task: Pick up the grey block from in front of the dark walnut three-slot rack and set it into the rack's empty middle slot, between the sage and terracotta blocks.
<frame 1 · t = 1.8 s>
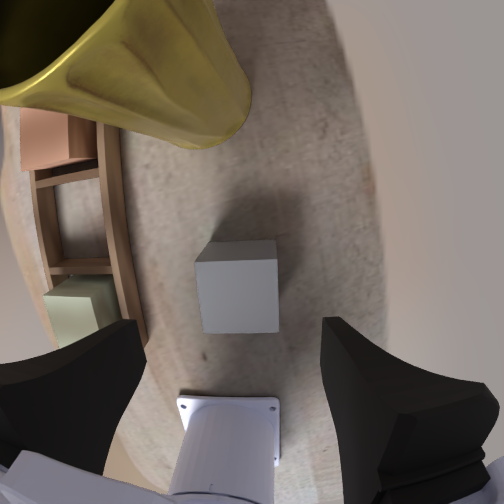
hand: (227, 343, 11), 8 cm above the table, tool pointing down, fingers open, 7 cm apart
grey block: (244, 271, 19), on the table
vase: (200, 100, 16), on the table
walnut rack: (86, 219, 19), on the table
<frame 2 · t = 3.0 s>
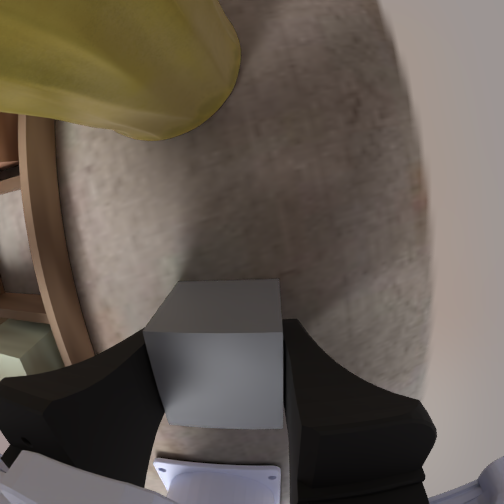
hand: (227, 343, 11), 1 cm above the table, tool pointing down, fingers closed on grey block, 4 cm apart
grey block: (231, 325, 13), on the table, touching gripper
vase: (163, 67, 10), on the table
walnut rack: (21, 244, 12), on the table
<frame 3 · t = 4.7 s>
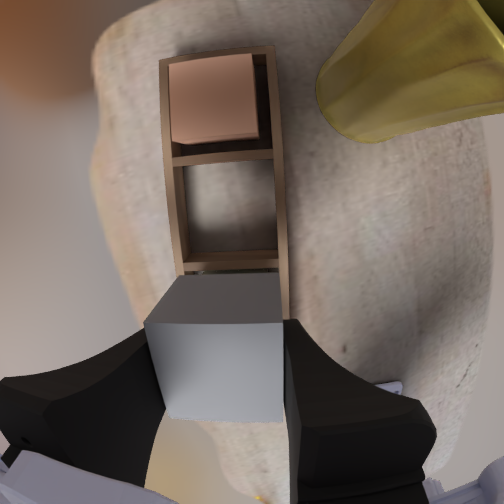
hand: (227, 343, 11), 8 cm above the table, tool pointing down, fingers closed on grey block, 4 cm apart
grey block: (232, 319, 13), point 7 cm above the table, touching gripper
vase: (363, 96, 16), on the table
walnut rack: (230, 207, 18), on the table
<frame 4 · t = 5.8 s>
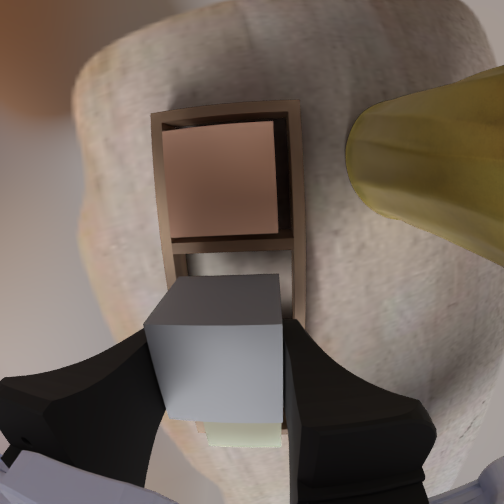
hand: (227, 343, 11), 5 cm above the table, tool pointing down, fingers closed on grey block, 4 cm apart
grey block: (231, 320, 13), point 4 cm above the table, touching gripper
vase: (399, 160, 14), on the table
walnut rack: (240, 291, 16), on the table
when the fingers open (3 cm above the table, at t = 6.5 s): grey block drops 2 cm, resting in walnut rack.
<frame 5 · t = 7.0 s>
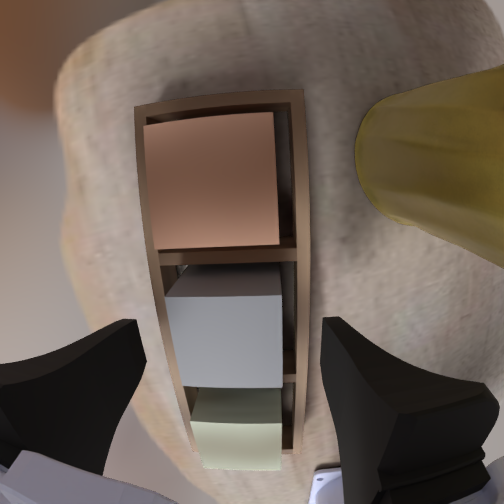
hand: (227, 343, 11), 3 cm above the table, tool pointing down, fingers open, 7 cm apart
grey block: (237, 300, 15), resting in walnut rack
vase: (412, 159, 12), on the table
walnut rack: (236, 304, 14), on the table
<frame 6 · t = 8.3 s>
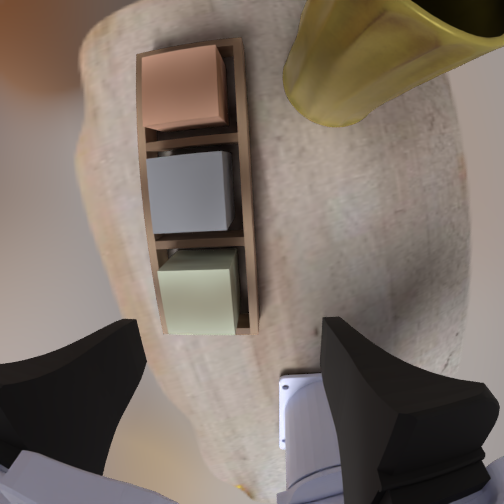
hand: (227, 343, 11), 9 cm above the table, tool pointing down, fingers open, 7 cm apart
grey block: (201, 187, 19), resting in walnut rack
vase: (330, 82, 17), on the table
walnut rack: (201, 189, 19), on the table
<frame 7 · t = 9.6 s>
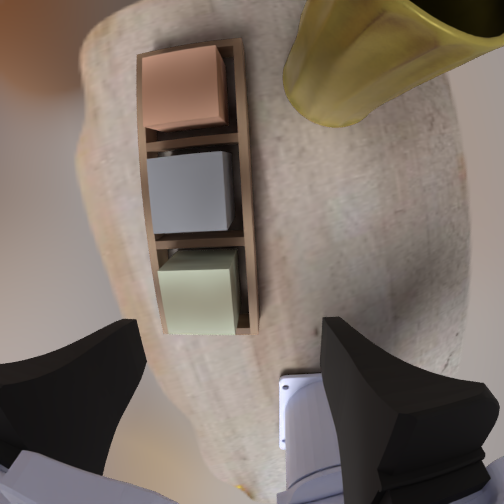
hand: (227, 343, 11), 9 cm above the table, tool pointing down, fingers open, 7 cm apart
grey block: (202, 187, 19), resting in walnut rack
vase: (330, 83, 17), on the table
walnut rack: (201, 189, 19), on the table
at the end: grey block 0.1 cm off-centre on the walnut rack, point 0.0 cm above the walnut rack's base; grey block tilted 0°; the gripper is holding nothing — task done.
